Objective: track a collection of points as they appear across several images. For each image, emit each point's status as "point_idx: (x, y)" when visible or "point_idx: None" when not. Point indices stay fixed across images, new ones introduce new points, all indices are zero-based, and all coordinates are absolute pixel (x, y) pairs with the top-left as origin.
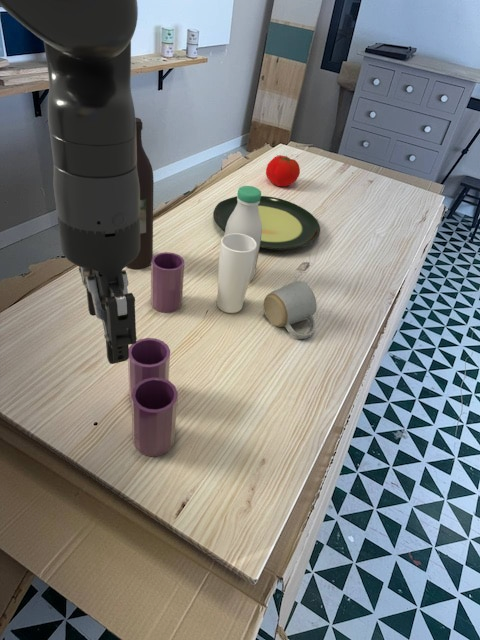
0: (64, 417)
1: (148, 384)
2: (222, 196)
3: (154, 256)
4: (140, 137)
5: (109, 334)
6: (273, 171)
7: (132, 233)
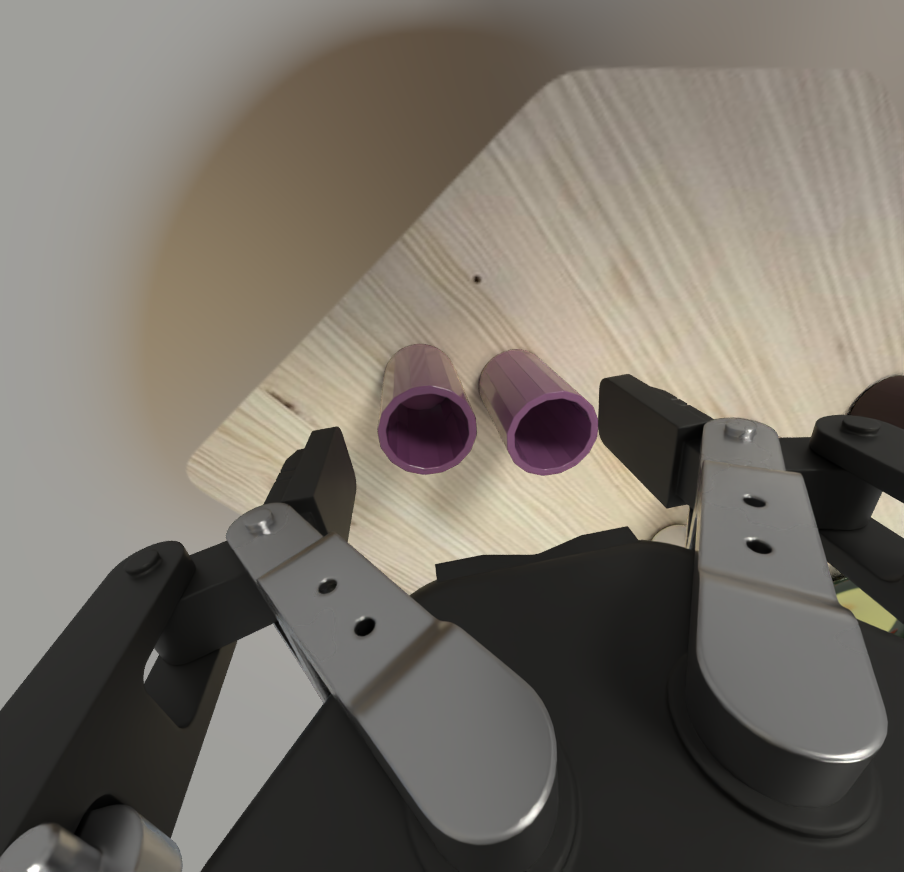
0: (508, 214)
1: (466, 420)
2: None
3: None
4: None
5: (132, 604)
6: None
7: None
